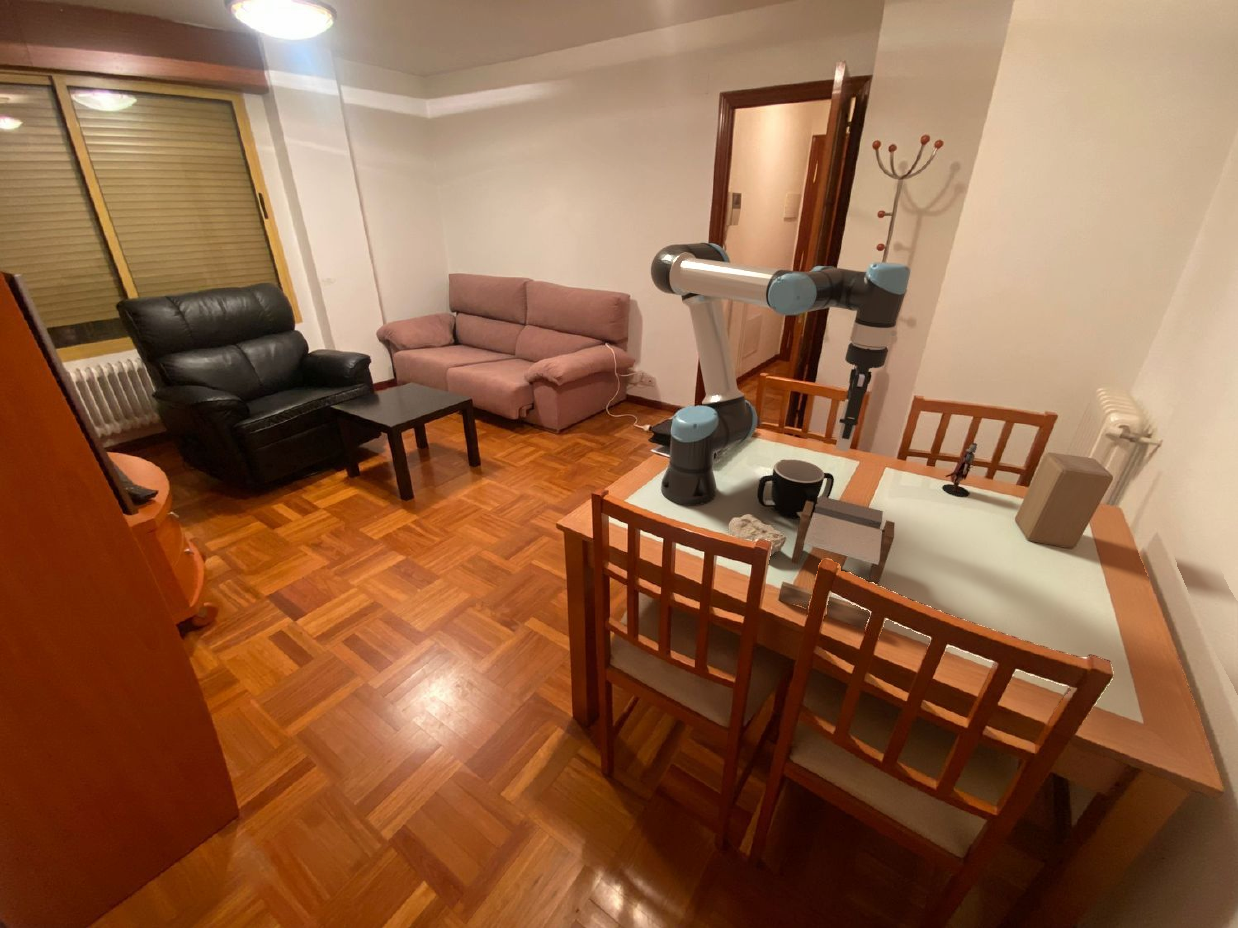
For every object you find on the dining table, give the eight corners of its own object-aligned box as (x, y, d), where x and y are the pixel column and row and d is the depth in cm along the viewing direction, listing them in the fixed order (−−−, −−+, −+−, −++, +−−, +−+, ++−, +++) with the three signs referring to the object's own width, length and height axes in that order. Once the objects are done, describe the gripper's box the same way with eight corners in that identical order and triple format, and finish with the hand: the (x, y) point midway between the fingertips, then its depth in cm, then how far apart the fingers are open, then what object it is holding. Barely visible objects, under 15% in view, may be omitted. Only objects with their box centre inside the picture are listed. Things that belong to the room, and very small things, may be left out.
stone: (751, 572, 114) (776, 550, 107) (717, 529, 119) (738, 505, 111) (770, 559, 119) (795, 538, 111) (737, 518, 123) (759, 495, 116)
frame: (778, 600, 101) (789, 548, 95) (795, 547, 116) (806, 500, 110) (872, 631, 94) (891, 578, 88) (878, 571, 109) (894, 522, 103)
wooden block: (1058, 527, 125) (1095, 456, 116) (1076, 550, 117) (1117, 476, 108) (1012, 519, 128) (1044, 450, 119) (1026, 541, 120) (1061, 468, 110)
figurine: (969, 499, 137) (989, 450, 130) (939, 492, 140) (957, 444, 133) (968, 488, 142) (987, 441, 135) (939, 482, 145) (956, 435, 138)
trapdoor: (802, 551, 100) (804, 539, 98) (816, 506, 115) (819, 495, 113) (875, 573, 94) (879, 560, 93) (880, 522, 109) (883, 511, 108)
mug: (778, 487, 141) (786, 449, 135) (834, 510, 131) (844, 470, 125) (747, 509, 131) (753, 469, 125) (804, 536, 121) (813, 493, 115)
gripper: (890, 363, 90) (859, 466, 101) (887, 333, 110) (862, 421, 121) (846, 357, 93) (820, 457, 103) (851, 329, 113) (829, 415, 123)
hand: (843, 438), depth 112 cm, fingers open, 13 cm apart
